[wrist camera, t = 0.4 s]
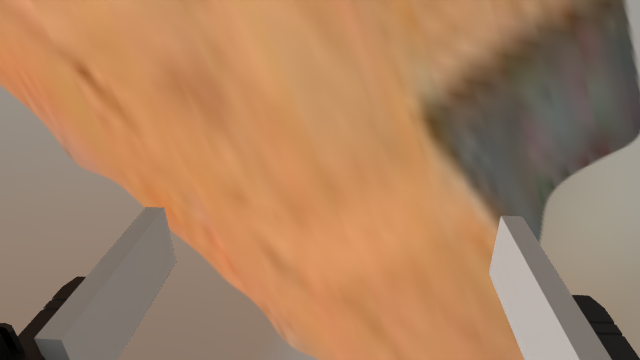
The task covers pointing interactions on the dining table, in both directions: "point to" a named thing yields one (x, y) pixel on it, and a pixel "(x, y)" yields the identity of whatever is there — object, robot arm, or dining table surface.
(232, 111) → the dining table surface
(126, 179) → the dining table surface
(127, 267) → the robot arm
